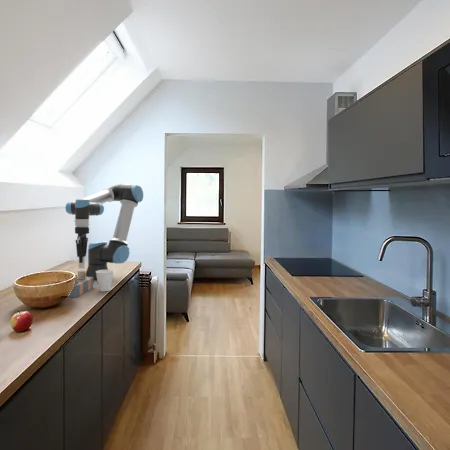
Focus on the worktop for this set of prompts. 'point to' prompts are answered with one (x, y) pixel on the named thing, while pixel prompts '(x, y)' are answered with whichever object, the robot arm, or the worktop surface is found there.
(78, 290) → the block
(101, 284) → the cup
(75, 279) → the peg
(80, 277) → the peg
